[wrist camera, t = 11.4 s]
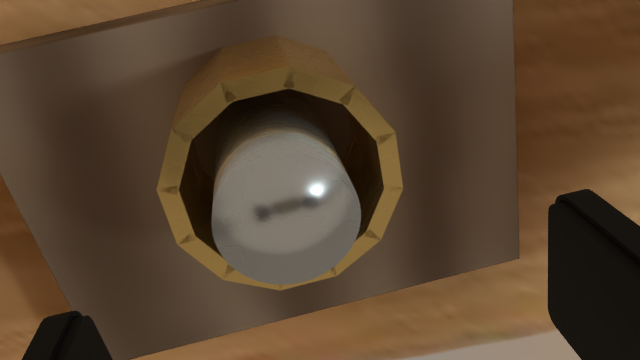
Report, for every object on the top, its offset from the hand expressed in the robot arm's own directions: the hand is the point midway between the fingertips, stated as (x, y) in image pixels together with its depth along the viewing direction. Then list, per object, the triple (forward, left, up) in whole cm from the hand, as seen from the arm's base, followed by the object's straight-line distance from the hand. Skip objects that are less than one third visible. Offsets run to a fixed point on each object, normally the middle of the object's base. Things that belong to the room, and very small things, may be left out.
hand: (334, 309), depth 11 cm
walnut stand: (+1, +2, -14) cm, 14 cm away
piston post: (+1, 0, -11) cm, 11 cm away
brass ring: (0, 0, -11) cm, 11 cm away
